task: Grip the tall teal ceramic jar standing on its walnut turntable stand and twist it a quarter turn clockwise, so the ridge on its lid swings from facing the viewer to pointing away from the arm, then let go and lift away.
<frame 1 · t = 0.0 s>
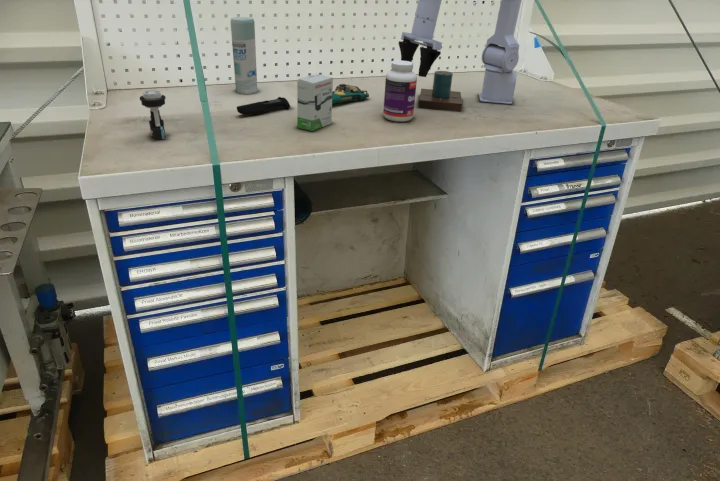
hand: (413, 73, 140), 11 cm above the table, tool pointing down, fingers open, 7 cm apart
ink box: (314, 126, 132), on the table
electric trimmer: (265, 112, 139), on the table
spray paint can: (246, 91, 156), on the table
jar stand: (439, 103, 154), on the table
push button: (158, 136, 120), on the table
pill bottle: (397, 119, 140), on the table
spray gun: (339, 100, 153), on the table
jar: (442, 83, 151), point 6 cm above the table, hinge at 0.0°
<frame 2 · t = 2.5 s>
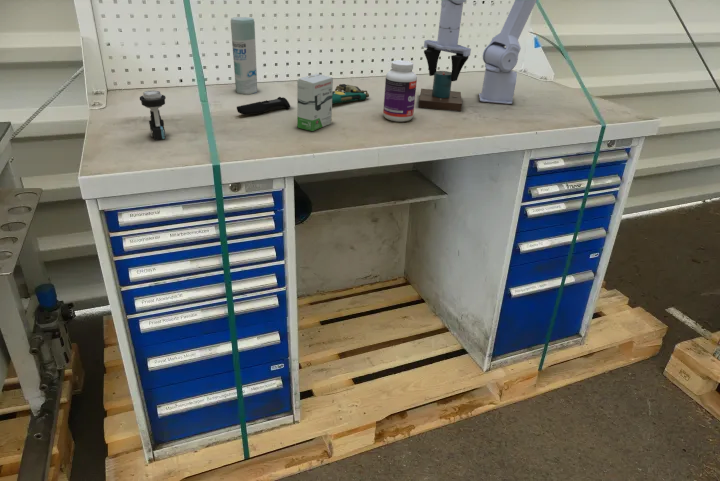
hand: (442, 78, 151), 7 cm above the table, tool pointing down, fingers open, 7 cm apart
nothing on the table moved.
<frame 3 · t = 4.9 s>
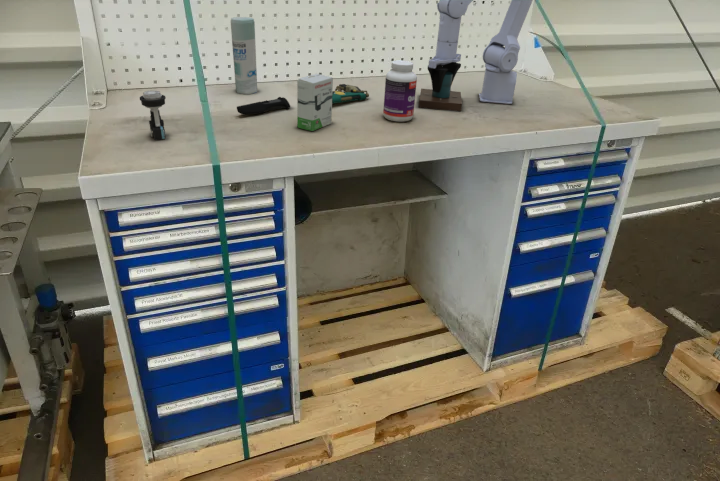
hand: (441, 89, 152), 4 cm above the table, tool pointing down, fingers closed on jar, 5 cm apart
jar: (442, 83, 151), point 6 cm above the table, hinge at 0.0°, touching gripper
everything else where it was.
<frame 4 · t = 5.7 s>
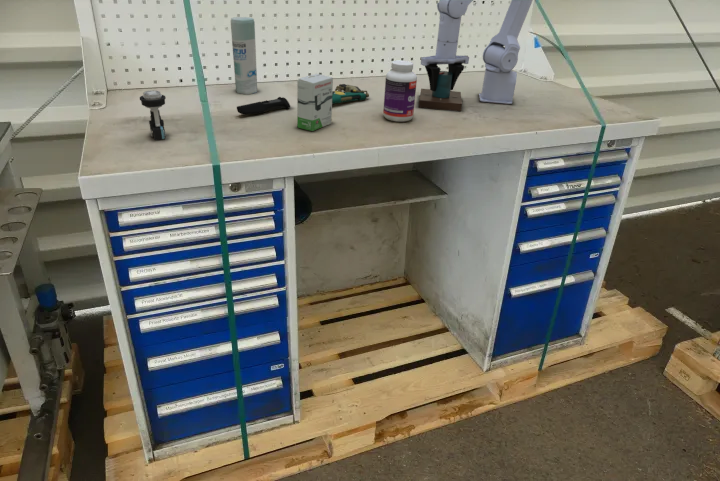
hand: (441, 89, 152), 4 cm above the table, tool pointing down, fingers closed on jar, 5 cm apart
jar: (442, 83, 151), point 6 cm above the table, hinge at -29.2°, touching gripper
everything else where it was.
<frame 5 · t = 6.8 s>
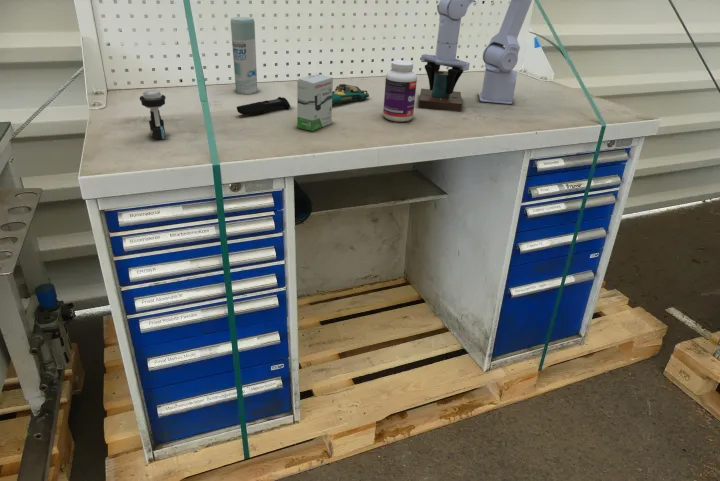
hand: (440, 91, 153), 3 cm above the table, tool pointing down, fingers closed on jar, 5 cm apart
jar: (442, 83, 151), point 6 cm above the table, hinge at -89.5°, touching gripper
everything else where it was.
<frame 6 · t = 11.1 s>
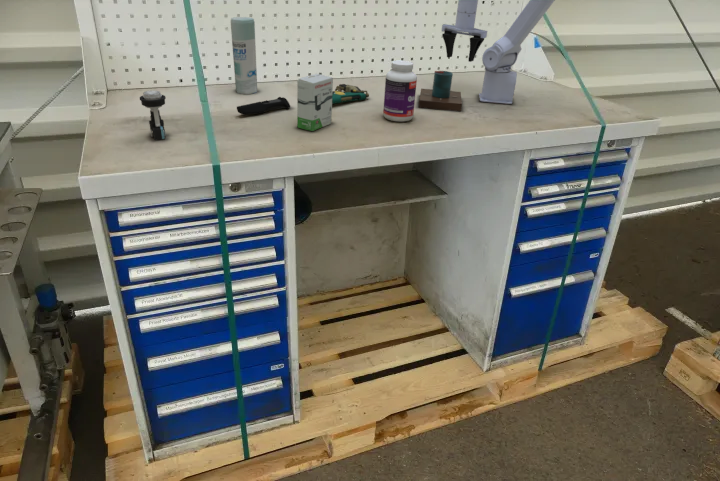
hand: (460, 59, 164), 9 cm above the table, tool pointing down, fingers open, 7 cm apart
jar: (442, 83, 151), point 6 cm above the table, hinge at -88.5°
everything else where it was.
at the end: jar at -88° (first picture: +0°); pill bottle moved 0.2 cm from its start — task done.
